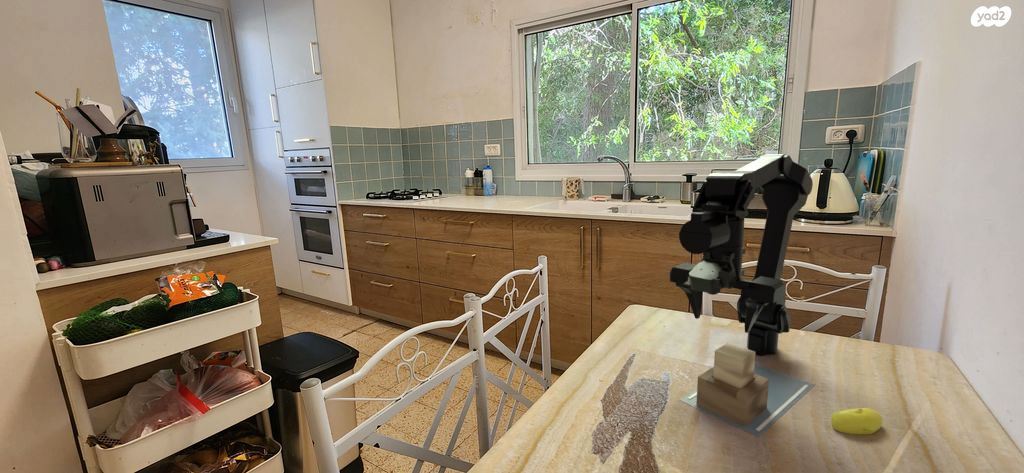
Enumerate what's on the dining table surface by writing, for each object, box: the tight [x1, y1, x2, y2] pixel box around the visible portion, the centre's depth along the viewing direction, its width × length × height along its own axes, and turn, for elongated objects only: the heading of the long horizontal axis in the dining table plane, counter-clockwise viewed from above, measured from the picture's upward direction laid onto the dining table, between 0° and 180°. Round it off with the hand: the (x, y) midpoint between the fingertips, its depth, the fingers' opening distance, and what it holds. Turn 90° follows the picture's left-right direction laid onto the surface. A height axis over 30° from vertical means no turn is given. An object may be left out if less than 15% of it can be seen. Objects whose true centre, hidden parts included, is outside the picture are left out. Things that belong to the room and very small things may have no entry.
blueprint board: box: [679, 363, 816, 438], centre depth 76 cm, size 23×13×1 cm, turn 127°
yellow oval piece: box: [830, 407, 883, 435], centre depth 66 cm, size 4×8×4 cm, turn 94°
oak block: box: [713, 342, 756, 389], centre depth 71 cm, size 4×4×6 cm
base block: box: [696, 366, 769, 427], centre depth 72 cm, size 8×8×5 cm
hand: (721, 324), depth 79 cm, fingers open, 9 cm apart
